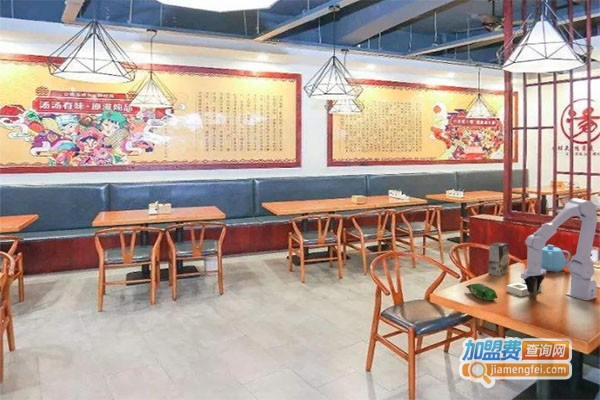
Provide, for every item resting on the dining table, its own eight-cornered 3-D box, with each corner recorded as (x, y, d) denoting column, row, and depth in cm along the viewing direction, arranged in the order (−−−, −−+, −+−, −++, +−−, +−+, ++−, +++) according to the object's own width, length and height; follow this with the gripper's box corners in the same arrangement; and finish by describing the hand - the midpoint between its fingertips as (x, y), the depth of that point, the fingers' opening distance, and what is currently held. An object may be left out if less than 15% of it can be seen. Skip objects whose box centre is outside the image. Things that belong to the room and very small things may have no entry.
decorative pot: (574, 272, 236) (575, 247, 235) (546, 274, 234) (547, 249, 232) (552, 264, 252) (553, 241, 251) (526, 266, 250) (527, 242, 248)
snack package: (478, 290, 214) (478, 280, 213) (499, 301, 198) (499, 290, 198) (464, 292, 212) (465, 281, 212) (484, 303, 197) (484, 292, 196)
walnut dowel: (538, 298, 201) (538, 278, 200) (533, 299, 200) (534, 279, 199) (532, 296, 204) (532, 277, 203) (527, 297, 203) (528, 278, 201)
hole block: (541, 291, 210) (541, 285, 209) (521, 296, 204) (522, 290, 203) (525, 286, 217) (526, 280, 216) (506, 291, 211) (506, 285, 210)
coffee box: (500, 276, 234) (500, 246, 231) (488, 273, 238) (489, 244, 236) (508, 272, 239) (509, 243, 237) (496, 270, 244) (497, 241, 242)
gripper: (536, 257, 206) (535, 286, 208) (515, 262, 200) (514, 291, 202) (551, 261, 200) (549, 290, 202) (529, 266, 194) (528, 296, 196)
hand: (533, 291), depth 202 cm, fingers closed on walnut dowel, 3 cm apart
